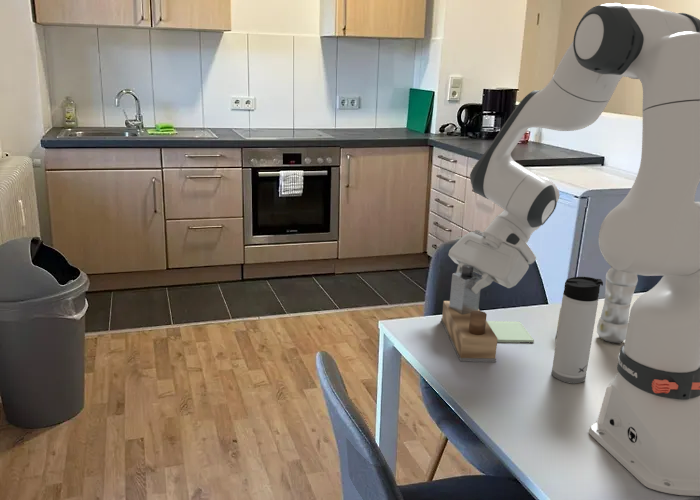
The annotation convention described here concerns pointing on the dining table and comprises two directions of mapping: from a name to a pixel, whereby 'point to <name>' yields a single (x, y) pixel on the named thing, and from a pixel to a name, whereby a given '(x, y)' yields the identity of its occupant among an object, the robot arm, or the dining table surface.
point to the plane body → (470, 334)
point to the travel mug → (576, 328)
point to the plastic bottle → (616, 305)
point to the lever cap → (464, 291)
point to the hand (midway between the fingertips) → (463, 287)
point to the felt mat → (510, 331)
